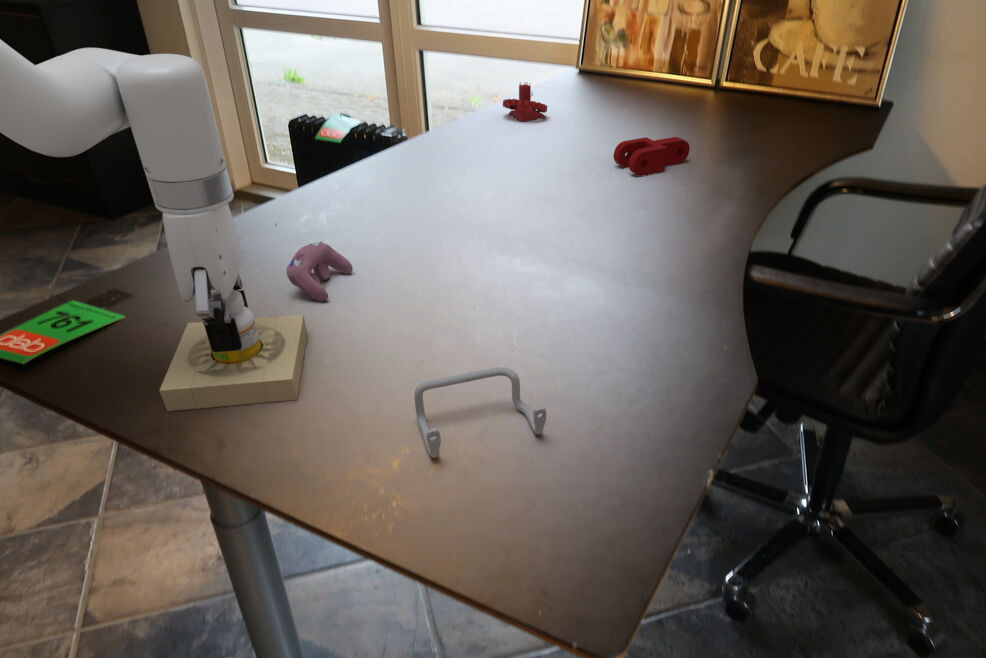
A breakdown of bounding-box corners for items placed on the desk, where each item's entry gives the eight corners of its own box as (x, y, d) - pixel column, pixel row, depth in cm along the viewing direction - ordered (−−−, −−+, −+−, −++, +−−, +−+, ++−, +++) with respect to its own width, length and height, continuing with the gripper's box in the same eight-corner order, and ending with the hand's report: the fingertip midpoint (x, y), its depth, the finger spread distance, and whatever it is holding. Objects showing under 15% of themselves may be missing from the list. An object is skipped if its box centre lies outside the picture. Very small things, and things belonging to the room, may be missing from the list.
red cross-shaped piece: (552, 112, 176) (553, 77, 172) (541, 126, 167) (542, 89, 162) (511, 108, 178) (511, 74, 173) (497, 122, 169) (497, 86, 164)
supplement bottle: (208, 370, 84) (187, 299, 79) (246, 349, 88) (228, 281, 82) (236, 386, 82) (216, 315, 76) (274, 364, 86) (258, 295, 80)
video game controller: (334, 278, 107) (308, 238, 104) (357, 269, 106) (331, 228, 102) (303, 310, 99) (274, 268, 96) (328, 301, 98) (299, 258, 95)
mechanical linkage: (632, 178, 140) (635, 153, 137) (612, 166, 145) (614, 142, 143) (695, 165, 147) (698, 141, 144) (673, 155, 152) (676, 132, 149)
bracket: (429, 466, 73) (426, 431, 69) (414, 416, 78) (410, 382, 75) (546, 439, 76) (548, 405, 73) (523, 393, 82) (523, 359, 79)
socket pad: (166, 411, 78) (159, 390, 77) (194, 342, 90) (187, 322, 88) (296, 399, 81) (292, 378, 79) (307, 334, 92) (303, 314, 90)
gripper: (172, 159, 78) (212, 300, 89) (127, 223, 64) (181, 381, 75) (243, 156, 79) (274, 296, 90) (214, 219, 66) (255, 375, 76)
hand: (232, 333), depth 82 cm, fingers closed on supplement bottle, 5 cm apart
